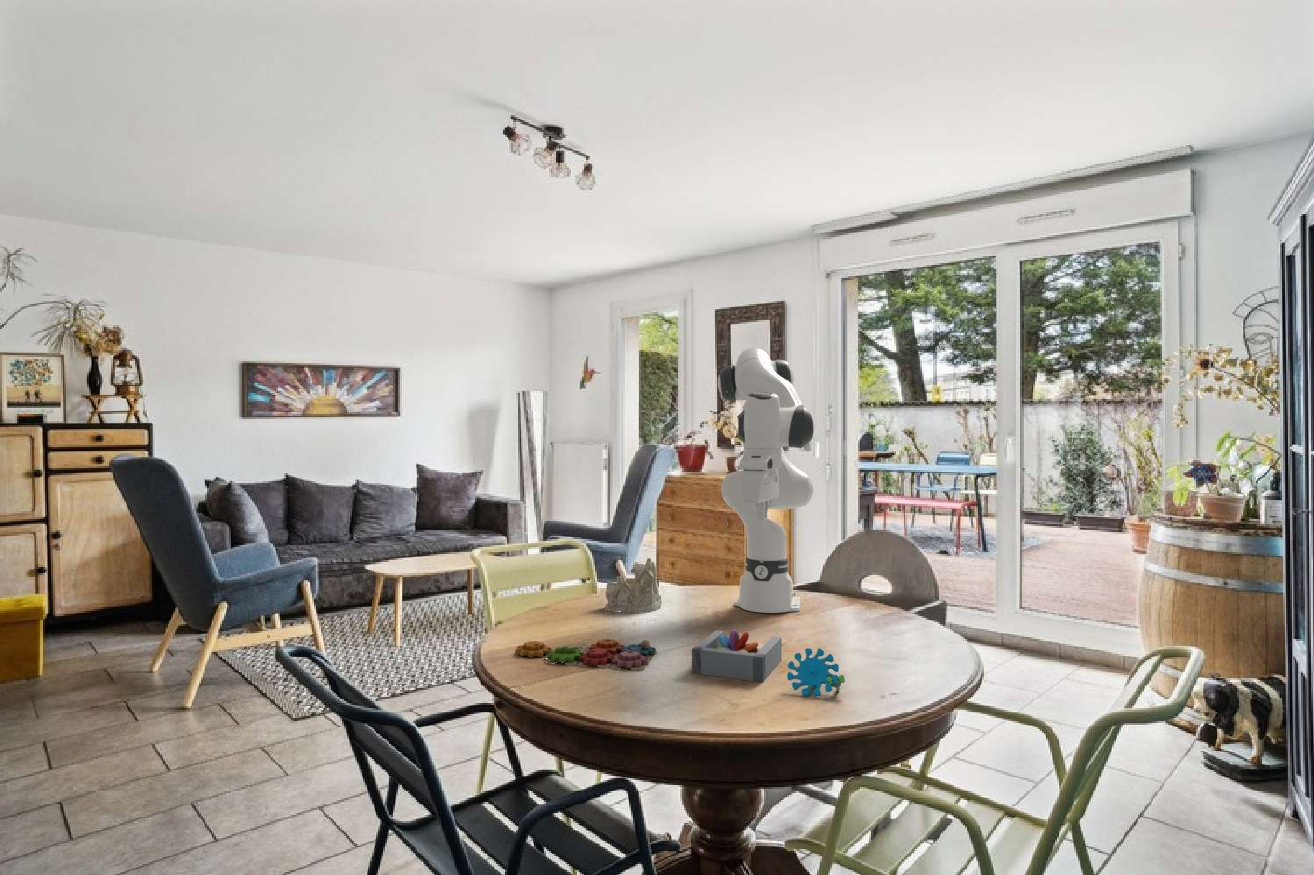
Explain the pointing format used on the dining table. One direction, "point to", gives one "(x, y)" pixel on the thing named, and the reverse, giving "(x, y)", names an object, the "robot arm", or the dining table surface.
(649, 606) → the ceramic cottage
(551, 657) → the gear puzzle
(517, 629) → the dining table surface
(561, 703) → the dining table surface
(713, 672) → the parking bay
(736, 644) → the multicoloured rounded-lobe toy
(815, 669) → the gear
